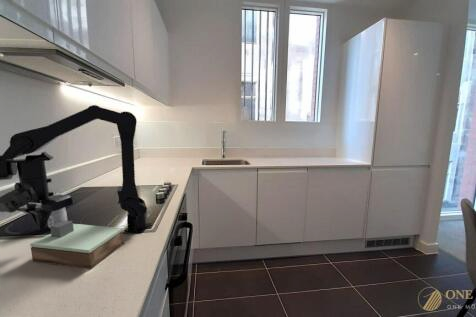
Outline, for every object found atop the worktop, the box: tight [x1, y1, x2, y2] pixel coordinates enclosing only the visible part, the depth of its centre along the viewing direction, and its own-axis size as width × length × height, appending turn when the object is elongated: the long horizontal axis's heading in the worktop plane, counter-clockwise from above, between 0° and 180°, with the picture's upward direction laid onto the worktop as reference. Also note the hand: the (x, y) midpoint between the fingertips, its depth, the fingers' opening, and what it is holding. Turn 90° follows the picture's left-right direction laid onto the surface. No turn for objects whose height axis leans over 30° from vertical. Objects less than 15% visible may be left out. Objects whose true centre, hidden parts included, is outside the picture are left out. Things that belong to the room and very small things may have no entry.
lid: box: [29, 220, 123, 253], centre depth 62 cm, size 12×18×4 cm, turn 80°
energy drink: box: [47, 191, 68, 229], centre depth 79 cm, size 5×5×12 cm
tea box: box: [30, 231, 125, 270], centre depth 63 cm, size 12×18×4 cm, turn 79°
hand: (41, 229), depth 64 cm, fingers closed
